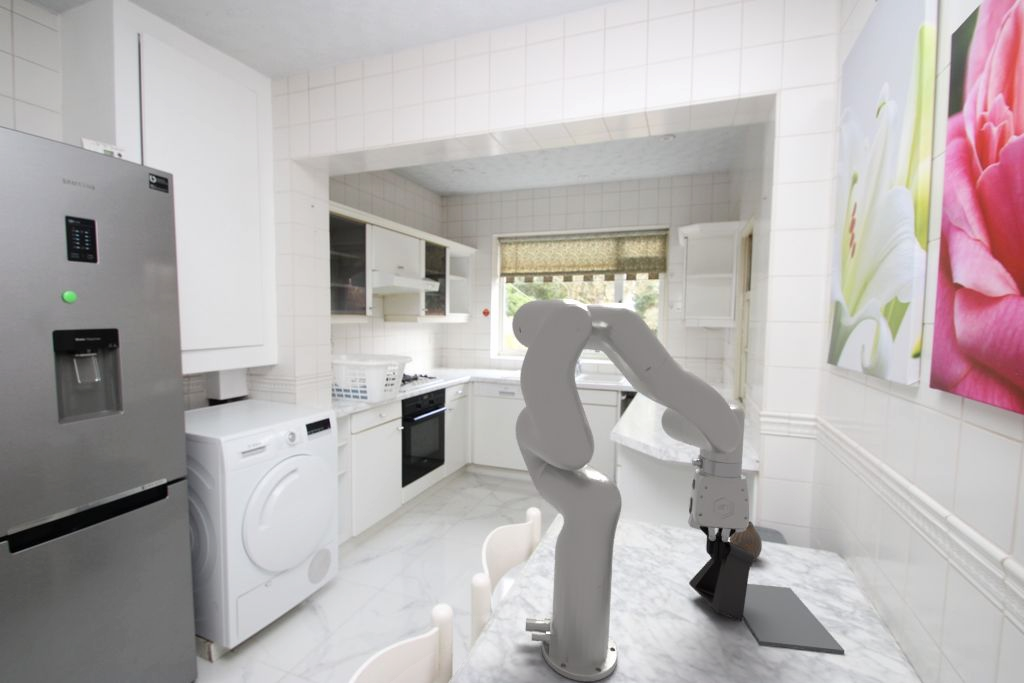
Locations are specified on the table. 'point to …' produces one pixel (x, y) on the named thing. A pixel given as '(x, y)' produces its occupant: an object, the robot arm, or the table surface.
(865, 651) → the table surface
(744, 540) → the vase
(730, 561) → the phone stand
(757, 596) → the mat
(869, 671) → the table surface
